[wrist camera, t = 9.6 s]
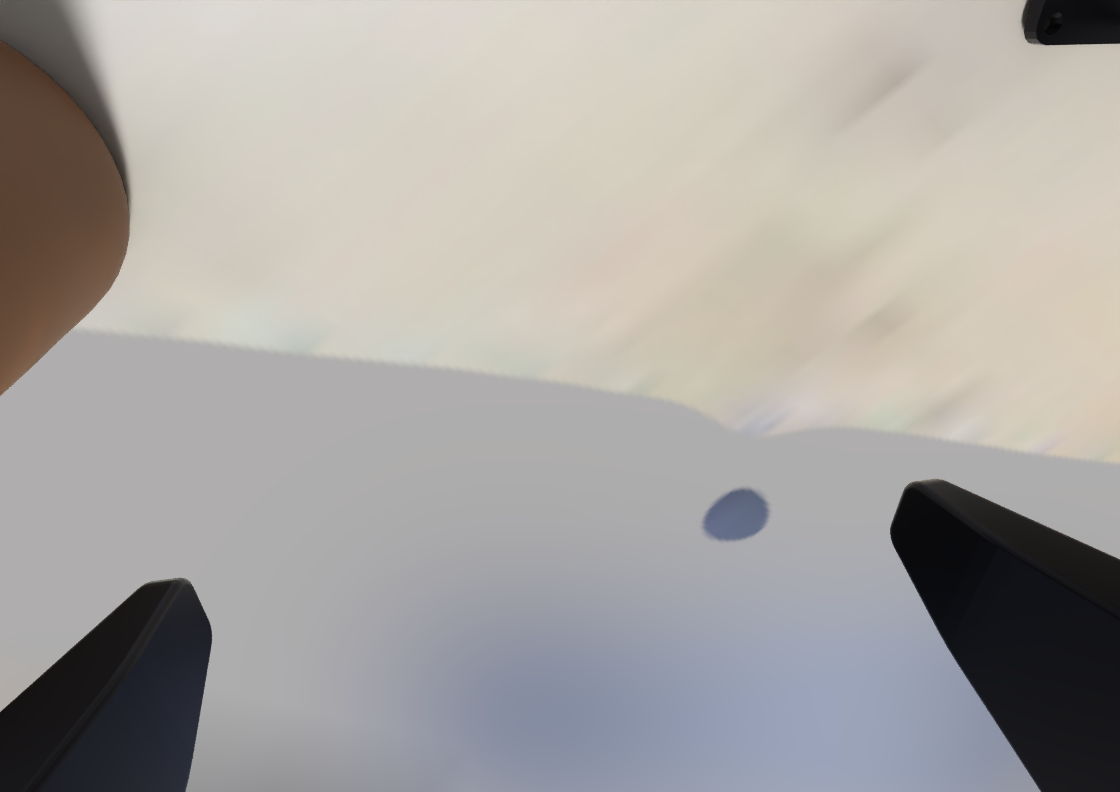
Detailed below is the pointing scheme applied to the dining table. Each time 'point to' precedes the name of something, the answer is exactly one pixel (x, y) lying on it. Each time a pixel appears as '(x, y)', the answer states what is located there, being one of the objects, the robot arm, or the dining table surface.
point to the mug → (51, 215)
